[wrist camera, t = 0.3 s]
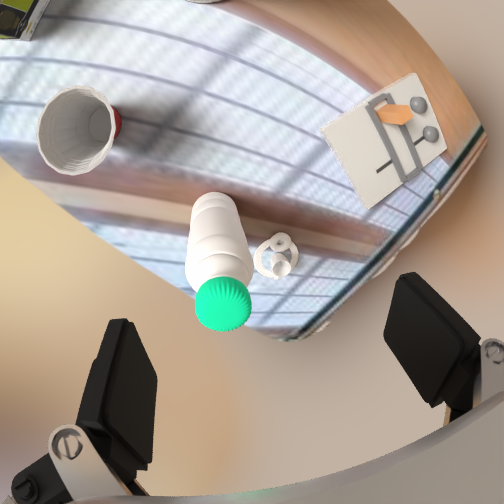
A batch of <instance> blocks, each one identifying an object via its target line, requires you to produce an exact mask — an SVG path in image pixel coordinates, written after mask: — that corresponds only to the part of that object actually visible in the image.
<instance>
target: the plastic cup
mask: <svg viewBox="0 0 504 504" xmlns="http://www.w3.org/2000/svg"><path fill="white" fill-rule="evenodd" d="M120 128H121V116H120V115H119V113H118V111H117V110H116V109H115V108H114V107H112V106H111V105H110V104H109V102H108V100H107V99H106V97H105V96H104V95H103V94H101V93H100V92H98V91H97V90H95V89H94V88H92V87H86V86H77V85H76V86H73V87H70V88H67V89H64V90H61V91H60V92H58V93H57V94H56V95H55V96H54V97H53V98H52V99H50V100H49V101H48V102H47V104H46V106H45V107H44V109H43V111H42V113H41V115H40V117H39V121H38V126H37V133H36V137H37V142H38V148H39V152H40V153H41V155H42V157H43V158H44V160H45V162H46V163H47V165H49V166H50V167H52V168H53V169H54V170H56V171H57V172H59V173H62V174H68V175H73V176H74V175H78V174H82V173H86V172H89V171H90V170H92V169H93V168H94V167H96V166H97V165H98V164H100V163H101V162H102V161H103V160H104V158H105V156H106V155H107V153H108V152H109V150H110V149H111V147H112V143H113V140H114V139H115V138H116V136H117V135H118V133H119V132H120Z"/></svg>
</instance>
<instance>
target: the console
mask: <svg viewBox="0 0 504 504" xmlns="http://www.w3.org/2000/svg"><path fill="white" fill-rule="evenodd" d="M386 104H397V105H409V108H410V110H411V112H412V114H413V116H414V117H413V118H411V119H410V120H408V121H407V122H406V123H404V124H403V125H399V124H392V123H385V122H381V121H380V119H379V117H378V116H377V114H376V112H375V111H376V110H378V109H379V108H381V107H383V106H384V105H386ZM319 131H320V132H321V134H322V136H323V137H324V139H325V140H326V142H327V144H328V145H329V147H330V149H331V150H332V152H333V154H334V155H335V157H336V159H337V160H338V162H339V164H340V166H341V167H342V169H343V171H344V173H345V174H346V176H347V178H348V180H349V181H350V183H351V185H352V187H353V189H354V191H355V192H356V194H357V196H358V198H359V200H360V202H361V204H362V206H363V207H365V208H366V209H368V210H369V209H370V208H371V207H373V206H374V205H375V204H377V203H378V202H379V201H380V200H382V199H383V198H384V197H386V196H387V195H388V194H390V193H391V192H392V191H394V190H395V189H396V188H397V187H399V186H400V185H401V184H403V183H404V182H405V181H407V182H409V181H410V180H411V179H412V178H414V177H415V176H416V175H417V174H419V173H420V170H421V169H422V168H423V167H424V166H426V165H427V164H428V163H429V162H431V161H432V160H433V159H434V158H436V157H437V156H438V155H439V154H441V153H442V152H443V151H444V150H446V149H447V146H446V143H445V140H444V137H443V135H442V132H441V129H440V126H439V124H438V121H437V119H436V116H435V114H434V111H433V109H432V106H431V104H430V102H429V99H428V97H427V95H426V93H425V91H424V88H423V86H422V84H421V82H420V80H419V78H418V76H417V74H416V73H409V74H407V75H405V76H403V77H402V78H400V79H398V80H396V81H395V82H393V83H391V84H390V85H388V86H386V87H385V88H383V89H381V90H380V91H378V92H376V93H375V94H373V95H371V96H370V97H368V98H366V99H365V100H363V101H362V102H360V103H358V104H357V105H355V106H354V107H352V108H350V109H349V110H347V111H346V112H344V113H343V114H341V115H340V116H338V117H336V118H335V119H333V120H332V121H330V122H329V123H327V124H326V125H324V126H323V127H321V128H320V129H319Z"/></svg>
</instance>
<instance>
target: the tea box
mask: <svg viewBox="0 0 504 504" xmlns="http://www.w3.org/2000/svg"><path fill="white" fill-rule="evenodd" d="M49 1H50V0H0V40H19V41H30V39H31V37H32V35H33V32H34V30H35V28H36V26H37V24H38V22H39V20H40V18H41V16H42V14H43V12H44V10H45V8H46V7H47V5H48V3H49Z"/></svg>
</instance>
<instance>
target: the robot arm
mask: <svg viewBox="0 0 504 504" xmlns="http://www.w3.org/2000/svg"><path fill="white" fill-rule="evenodd" d="M186 1H190V2H194V3H213V2H218V1H222V0H186ZM480 339H481V337H480V336H479V335H478V334H477V333H476V332H475V331H474V330H473V329H472V327H471V326H470V325H469V324H468V323H467V322H466V321H465V320H464V319H463V318H462V317H461V316H460V315H459V314H458V313H457V312H456V311H455V310H454V309H453V308H452V307H451V306H450V305H449V304H448V303H447V302H446V301H445V300H444V299H443V298H442V297H441V296H440V295H439V294H438V293H437V292H436V291H435V290H434V289H433V288H432V287H431V286H430V285H429V284H428V283H427V282H426V281H425V280H423V279H422V278H421V277H420V276H419V275H418V274H417V273H416V272H411V273H406V274H402V275H400V277H399V279H398V280H397V281H396V284H395V288H394V293H393V298H392V301H391V306H390V310H389V314H388V318H387V322H386V325H385V329H384V340H385V342H386V343H387V345H388V346H389V348H390V349H391V351H392V352H393V354H394V355H395V356H396V358H397V360H398V361H399V362H400V364H401V366H402V367H403V369H404V370H405V372H406V373H407V375H408V376H409V378H410V379H411V381H412V383H413V384H414V386H415V387H416V389H417V390H418V392H419V394H420V395H421V397H422V398H423V400H424V401H425V402H426V403H429V405H430V406H431V408H434V407H435V406H437V405H439V404H441V403H442V402H443V401H445V403H446V404H447V405H446V412H445V418H444V424H443V427H442V428H440V429H438V430H436V431H434V432H433V433H431V434H429V435H427V436H425V437H423V438H421V439H419V440H417V441H415V442H413V443H411V444H409V445H407V446H405V447H402V448H400V449H398V450H396V451H393V452H391V453H389V454H386V455H384V456H381V457H379V458H376V459H374V460H372V461H369V462H366V463H363V464H361V465H358V466H355V467H352V468H349V469H346V470H343V471H340V472H336V473H333V474H330V475H326V476H323V477H319V478H316V479H311V480H307V481H303V482H299V483H295V484H290V485H285V486H281V487H275V488H270V489H263V490H257V491H250V492H242V493H233V494H222V495H206V496H185V497H184V496H180V497H164V496H150V495H149V494H148V493H147V492H146V491H145V489H144V488H143V487H142V486H141V485H140V484H139V483H138V481H137V480H136V479H135V478H136V475H137V470H145V471H147V467H148V463H151V462H152V453H153V452H152V451H153V433H154V432H153V431H154V417H155V402H156V392H157V375H156V372H155V370H154V368H153V366H152V364H151V362H150V359H149V358H148V355H147V353H146V351H145V348H144V346H143V344H142V342H141V339H140V337H139V335H138V332H137V330H136V328H135V325H134V323H132V322H129V321H128V320H127V319H126V318H122V319H112V320H110V321H109V323H108V326H107V329H106V332H105V334H104V338H103V340H102V343H101V346H100V349H99V353H98V355H97V358H96V359H95V360H94V361H93V363H92V366H91V370H90V373H89V376H88V379H87V383H86V386H85V390H84V393H83V397H82V400H81V404H80V408H79V412H78V416H77V420H76V424H75V425H73V424H64V425H62V426H59V427H58V428H56V429H55V430H54V431H53V432H52V434H51V436H50V437H49V441H48V451H49V453H47V454H46V455H44V456H43V457H42V458H40V459H39V460H37V461H36V462H35V463H33V464H31V465H30V466H28V467H27V468H25V469H24V470H23V471H21V472H20V473H18V474H17V475H16V476H15V477H14V479H13V481H12V487H11V490H12V495H13V496H12V497H10V496H7V498H6V499H5V501H4V502H3V504H504V343H503V342H502V341H500V340H497V339H492V338H490V339H487V340H485V341H484V342H483V343H482V345H481V346H480V345H479V341H480Z"/></svg>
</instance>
